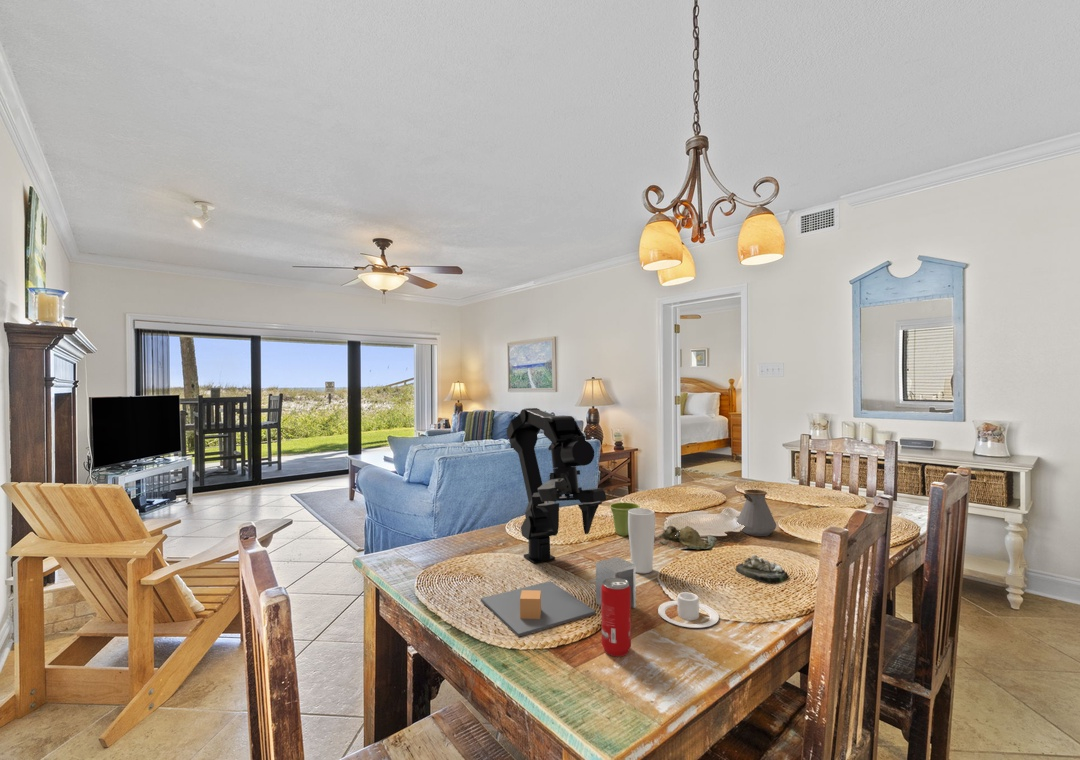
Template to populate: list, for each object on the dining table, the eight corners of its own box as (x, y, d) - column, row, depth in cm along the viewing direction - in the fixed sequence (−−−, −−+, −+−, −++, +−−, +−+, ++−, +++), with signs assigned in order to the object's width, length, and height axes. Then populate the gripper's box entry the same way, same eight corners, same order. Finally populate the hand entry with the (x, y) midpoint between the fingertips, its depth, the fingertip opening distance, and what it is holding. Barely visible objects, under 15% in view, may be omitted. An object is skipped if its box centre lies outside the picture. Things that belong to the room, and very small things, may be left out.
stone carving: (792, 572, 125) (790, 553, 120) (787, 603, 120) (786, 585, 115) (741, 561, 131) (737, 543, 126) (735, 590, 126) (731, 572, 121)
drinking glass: (656, 576, 122) (655, 515, 122) (628, 574, 124) (627, 514, 124) (655, 566, 129) (654, 508, 129) (628, 564, 130) (628, 507, 130)
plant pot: (604, 534, 156) (604, 506, 156) (618, 527, 163) (617, 500, 163) (632, 540, 150) (632, 511, 150) (644, 532, 158) (644, 504, 158)
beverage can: (599, 642, 92) (598, 577, 92) (626, 641, 92) (626, 576, 92) (605, 658, 86) (604, 589, 86) (634, 657, 87) (633, 588, 87)
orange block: (521, 609, 104) (521, 590, 104) (541, 609, 104) (540, 590, 104) (520, 618, 100) (520, 598, 100) (540, 618, 100) (539, 598, 100)
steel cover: (596, 603, 108) (595, 561, 108) (618, 597, 111) (617, 556, 111) (613, 614, 103) (613, 570, 103) (635, 607, 106) (635, 565, 106)
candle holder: (652, 603, 108) (652, 583, 108) (708, 603, 108) (708, 583, 108) (664, 631, 96) (664, 608, 96) (727, 631, 96) (727, 609, 96)
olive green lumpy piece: (732, 551, 142) (732, 532, 142) (672, 554, 139) (672, 535, 139) (702, 532, 159) (702, 515, 159) (648, 534, 156) (648, 517, 156)
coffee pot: (741, 525, 164) (741, 479, 164) (779, 530, 158) (779, 483, 158) (724, 542, 147) (723, 491, 147) (766, 550, 140) (765, 496, 140)
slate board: (480, 600, 110) (480, 598, 110) (550, 583, 119) (550, 581, 119) (518, 637, 94) (518, 633, 94) (595, 613, 103) (595, 611, 103)
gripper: (514, 472, 121) (519, 538, 118) (575, 466, 109) (583, 540, 107) (543, 469, 129) (549, 531, 127) (603, 463, 118) (611, 532, 115)
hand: (571, 533), depth 119 cm, fingers open, 9 cm apart
